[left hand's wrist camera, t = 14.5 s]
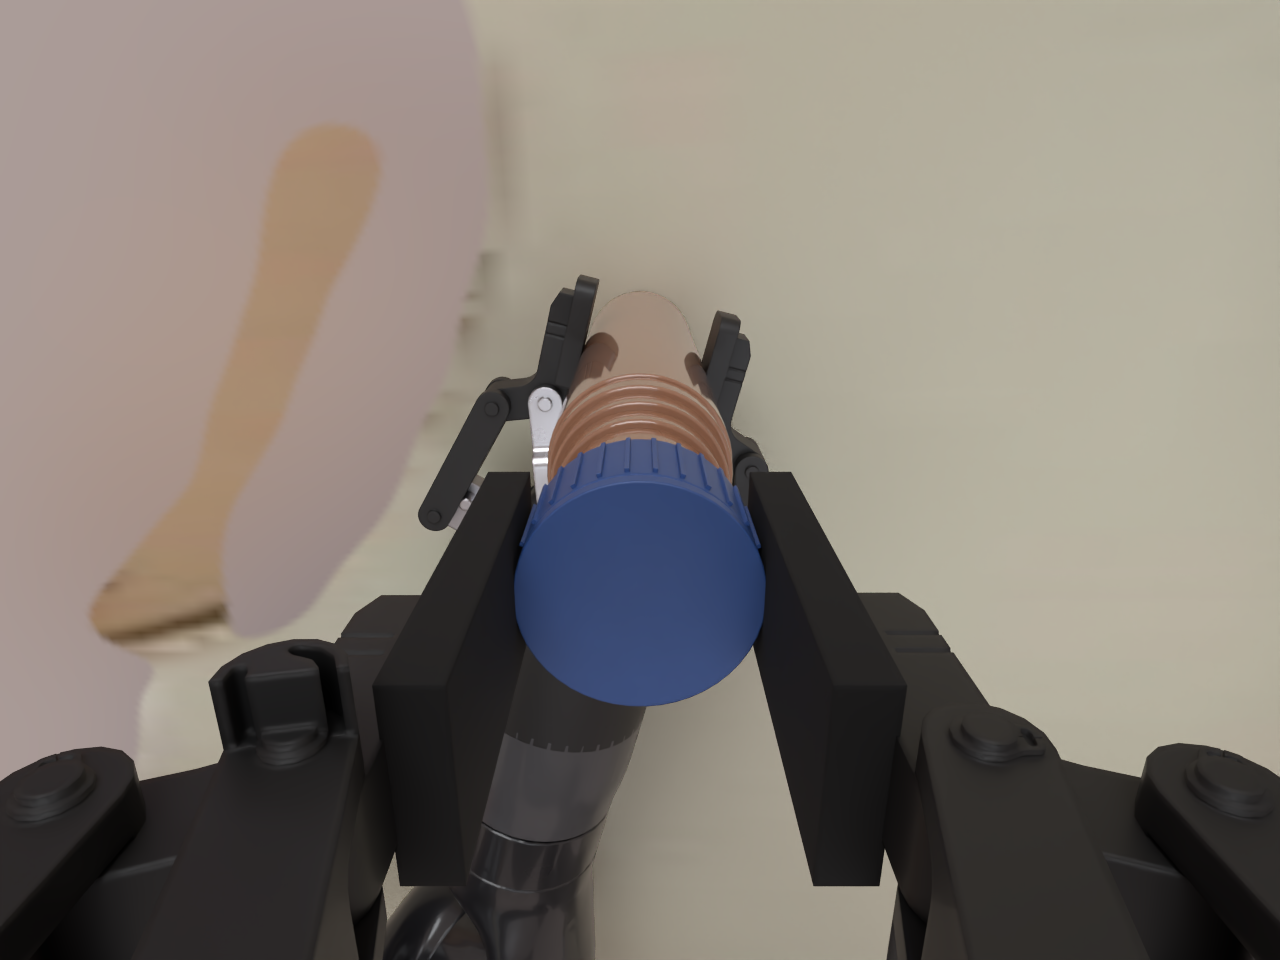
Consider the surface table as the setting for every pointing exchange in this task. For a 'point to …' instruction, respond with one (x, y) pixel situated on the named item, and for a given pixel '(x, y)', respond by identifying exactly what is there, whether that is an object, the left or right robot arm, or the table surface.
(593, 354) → the bottle
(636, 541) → the cap
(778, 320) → the table surface
